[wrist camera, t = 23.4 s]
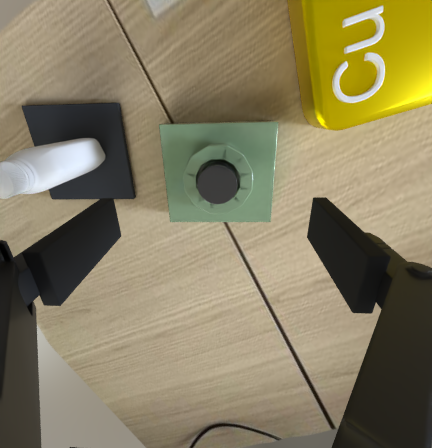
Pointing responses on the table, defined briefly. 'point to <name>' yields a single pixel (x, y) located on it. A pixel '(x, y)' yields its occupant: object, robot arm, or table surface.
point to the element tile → (361, 58)
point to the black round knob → (217, 183)
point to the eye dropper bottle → (48, 166)
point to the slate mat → (86, 128)
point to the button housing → (220, 152)
